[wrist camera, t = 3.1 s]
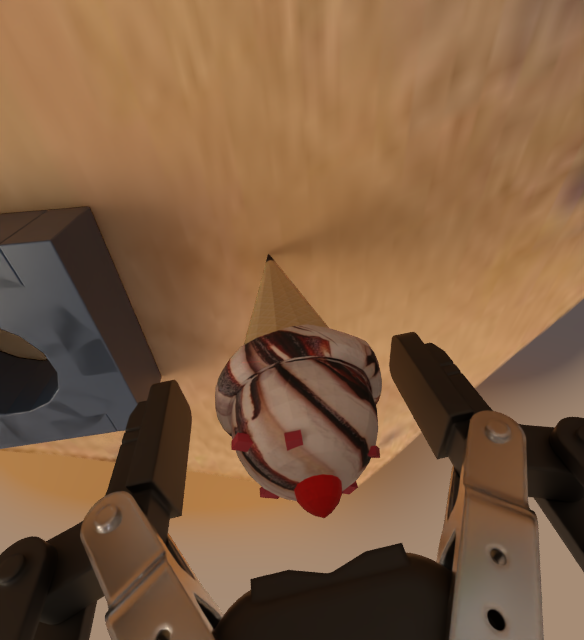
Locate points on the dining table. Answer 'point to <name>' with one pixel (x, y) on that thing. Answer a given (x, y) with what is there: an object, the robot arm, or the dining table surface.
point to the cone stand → (66, 331)
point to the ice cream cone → (299, 400)
